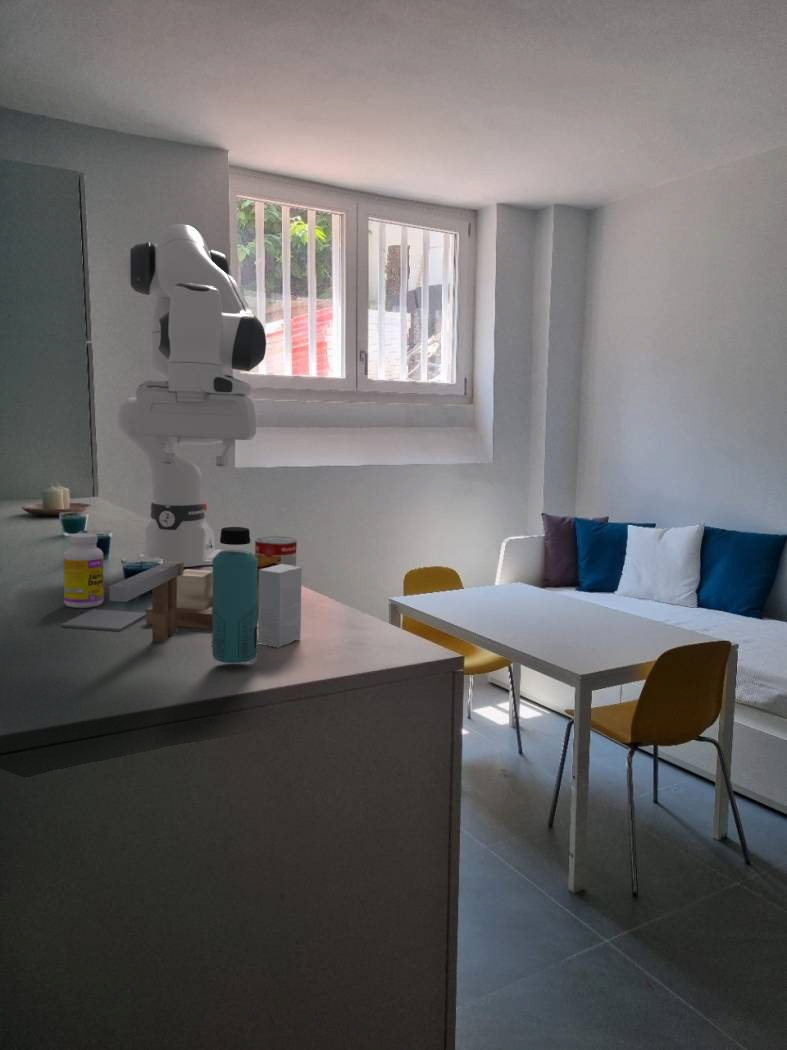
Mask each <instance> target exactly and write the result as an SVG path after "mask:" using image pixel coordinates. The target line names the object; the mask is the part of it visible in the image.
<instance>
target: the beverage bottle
mask: <svg viewBox="0 0 787 1050" xmlns="http://www.w3.org/2000/svg"><path fill="white" fill-rule="evenodd" d="M219 537H220V538H219V543H220V544H222V545H229V546H230V545H231V546H241V545H247V544H248V545H249V544H251V536H250V529H249V528H247V527H242V526H228V527H223V528H221V530H220V536H219ZM212 563H213V565H212V571H213V595H212V596H213V598H211V599H212V612H211V613H212V615H211V616H212V618H211V619H212V620H211V622H212V629H211V637H210V638H211V654H212V656H213V657H212V658H213V660H215V661H217V662H221V663H226V664H239V663H240V664H241V663H246V662H250V661H252V660H254V659H256V657H257V654H258V651H259V648H258V647H259V646H258V645H259V643H258V613H259V612H258V610H259V604H258V603H257V600H259V599H258V594H257V592H258V591H257V590H258V589H257V563H258V559H257V558H256V557H255V554H253V552H251V551H250V550H246V549H225V550H223V551H221V552H219V553H218V554H217V555H216V556H215V557H214V558H213V560H212Z"/></svg>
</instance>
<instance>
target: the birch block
mask: <svg viewBox="0 0 787 1050" xmlns="http://www.w3.org/2000/svg"><path fill="white" fill-rule="evenodd" d="M212 595H213V570H205V569H204V570H203V569H192V568H191V569H188V568H187V569H183V575H181V576H177V608H189V609H203V610H207V609H208V608H210V607H211V606H212V599H211V598H213V596H212Z"/></svg>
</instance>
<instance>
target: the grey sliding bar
mask: <svg viewBox="0 0 787 1050" xmlns="http://www.w3.org/2000/svg"><path fill="white" fill-rule="evenodd" d="M183 571H184V567H183V562H172V561H165V562H163V563H162V564H160V565H157V566H153V567H151V568H148V569H146V570H145V571H141V572H139V573H137V574H135V575H132V576H131V577H130V576H129V577H127V578H126V579H123V580H121V581H118V582H116V583H114V584H112V585H109V601H110V602H111V601H112V602H124V603H127V602H128V601H131V600H134V599H136V598H138V597H139V596H141V595H142V594H143V595H144V593H147V592H149V591H151V590H152V589H153V588H155V587H157V586H159V585H161V584H163V583H165V582H167V581H169V580H171V579H173V578H175V577H177V576H181V575H183Z"/></svg>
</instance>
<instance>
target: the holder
mask: <svg viewBox="0 0 787 1050" xmlns="http://www.w3.org/2000/svg"><path fill="white" fill-rule="evenodd" d="M151 590H152V592H151V594H152V596H151V597H152V599H151V600H152V603H151V604H152V606H149V607H147V608H146V609H145V611H146V612H145V613H146V617H145V622H146V623H145V624H146V625H152V627H151V628H152V631H151V633H152V642H153V643H155V642H156V643H163V642H165V641H167V640H168V639H169V638H168V637H172V636H174V635H175V634H177V632H178V631H177V628H178V627H182V628H194V629H195V628H196V629H208V630H209V629H210V630H212V622H211V620H212V619H211V618H212V616H211V615H212V613H211V612H212V606H211V607H210V608H208V609H207V610H203V609H189V608H177V577H175V578H173V579H171V580H169V581H167V582H165V583H163V584H161V585H159V586H157V587H155V588H153V589H151Z"/></svg>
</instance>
